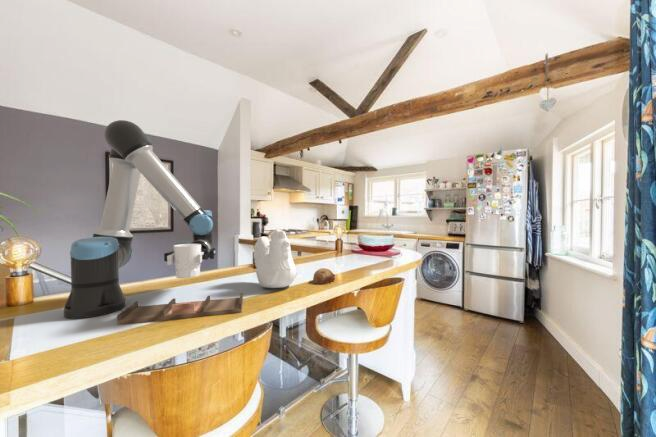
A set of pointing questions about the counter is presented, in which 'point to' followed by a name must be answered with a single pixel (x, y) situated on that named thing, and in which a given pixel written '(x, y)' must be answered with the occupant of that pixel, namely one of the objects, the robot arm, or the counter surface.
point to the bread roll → (323, 276)
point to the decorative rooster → (274, 260)
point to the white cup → (187, 260)
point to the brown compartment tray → (179, 310)
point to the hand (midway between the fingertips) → (184, 259)
